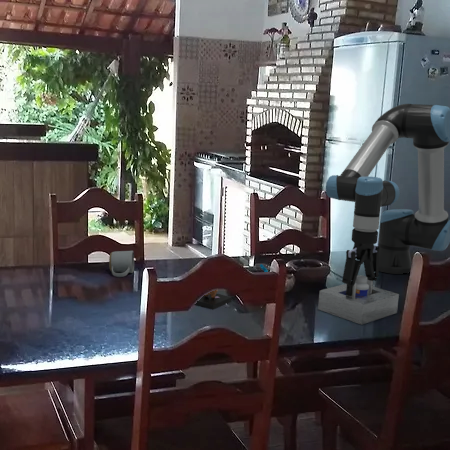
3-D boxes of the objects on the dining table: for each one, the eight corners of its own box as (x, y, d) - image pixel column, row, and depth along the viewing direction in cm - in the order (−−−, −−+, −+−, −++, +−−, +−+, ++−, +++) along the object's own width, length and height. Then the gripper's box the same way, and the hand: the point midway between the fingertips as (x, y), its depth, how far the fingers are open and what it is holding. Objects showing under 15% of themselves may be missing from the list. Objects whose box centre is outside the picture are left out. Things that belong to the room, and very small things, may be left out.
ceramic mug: (111, 268, 228) (111, 247, 226) (134, 269, 228) (134, 248, 226) (107, 277, 217) (107, 255, 216) (131, 278, 218) (132, 256, 216)
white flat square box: (354, 299, 207) (355, 281, 205) (396, 312, 195) (398, 294, 194) (318, 309, 195) (319, 290, 193) (361, 324, 183) (363, 304, 182)
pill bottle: (349, 309, 192) (351, 278, 191) (348, 304, 198) (350, 273, 196) (367, 311, 192) (370, 279, 190) (366, 305, 197) (369, 275, 195)
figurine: (231, 301, 198) (233, 264, 196) (213, 309, 190) (214, 270, 187) (204, 295, 203) (206, 258, 201) (185, 302, 195) (187, 264, 193)
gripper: (375, 223, 199) (368, 294, 204) (333, 230, 186) (327, 305, 190) (395, 228, 194) (388, 300, 199) (354, 235, 180) (347, 312, 185)
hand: (358, 302), depth 194 cm, fingers open, 8 cm apart
